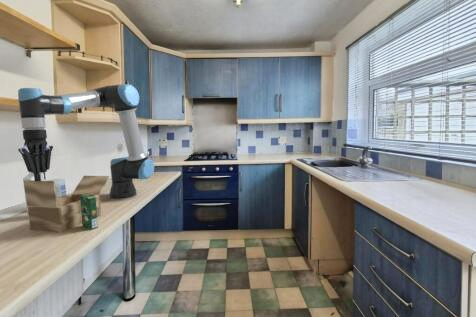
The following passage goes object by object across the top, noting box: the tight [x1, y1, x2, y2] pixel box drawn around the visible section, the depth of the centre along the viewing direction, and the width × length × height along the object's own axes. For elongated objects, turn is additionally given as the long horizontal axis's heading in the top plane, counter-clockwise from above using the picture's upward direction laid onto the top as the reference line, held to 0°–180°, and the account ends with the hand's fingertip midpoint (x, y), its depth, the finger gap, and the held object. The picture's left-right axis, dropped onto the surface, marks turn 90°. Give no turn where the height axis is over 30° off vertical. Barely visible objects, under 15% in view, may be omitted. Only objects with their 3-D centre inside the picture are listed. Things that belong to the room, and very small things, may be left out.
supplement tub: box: [46, 178, 67, 198], centre depth 150 cm, size 10×10×15 cm
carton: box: [28, 192, 102, 233], centre depth 126 cm, size 22×16×10 cm
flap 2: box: [72, 175, 110, 195], centre depth 139 cm, size 10×15×1 cm
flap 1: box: [22, 179, 58, 207], centre depth 114 cm, size 10×15×1 cm
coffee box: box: [80, 195, 99, 230], centre depth 118 cm, size 8×3×13 cm, turn 54°
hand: (41, 188), depth 114 cm, fingers closed
